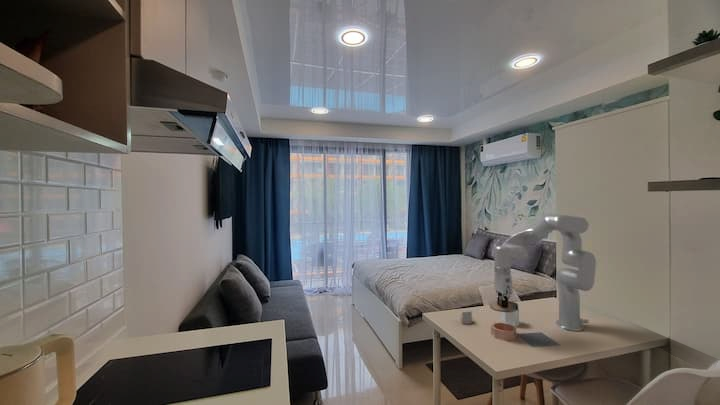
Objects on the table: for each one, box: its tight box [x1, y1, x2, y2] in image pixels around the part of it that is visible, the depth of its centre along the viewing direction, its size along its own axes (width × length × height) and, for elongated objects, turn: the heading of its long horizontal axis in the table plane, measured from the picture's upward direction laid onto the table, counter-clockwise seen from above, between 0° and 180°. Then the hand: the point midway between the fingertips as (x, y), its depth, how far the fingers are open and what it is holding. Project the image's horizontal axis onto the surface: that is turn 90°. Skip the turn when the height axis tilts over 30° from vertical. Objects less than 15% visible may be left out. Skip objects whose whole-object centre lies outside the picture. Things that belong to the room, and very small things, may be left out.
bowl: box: [490, 321, 517, 342], centre depth 158 cm, size 11×11×5 cm
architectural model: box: [459, 310, 474, 325], centre depth 176 cm, size 3×7×7 cm, turn 96°
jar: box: [500, 300, 520, 328], centre depth 171 cm, size 9×8×12 cm
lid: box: [489, 295, 516, 313], centre depth 157 cm, size 12×12×6 cm
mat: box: [516, 331, 561, 348], centre depth 153 cm, size 14×14×1 cm
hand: (502, 305), depth 157 cm, fingers closed on lid, 3 cm apart
